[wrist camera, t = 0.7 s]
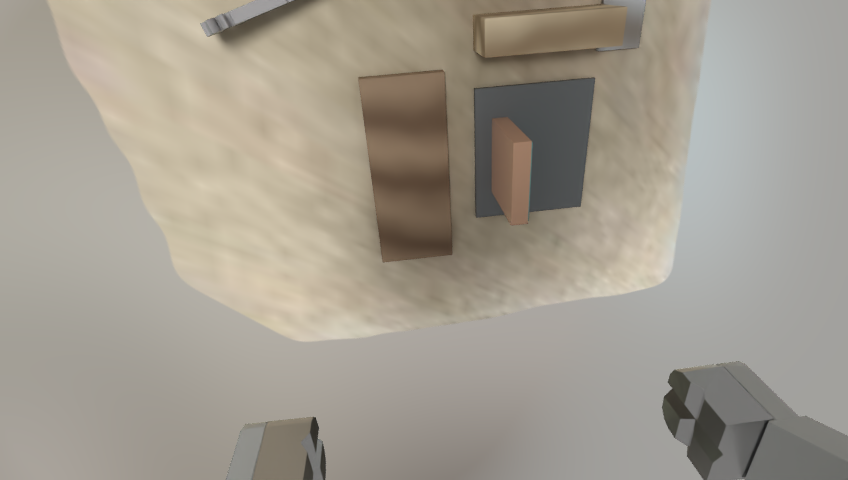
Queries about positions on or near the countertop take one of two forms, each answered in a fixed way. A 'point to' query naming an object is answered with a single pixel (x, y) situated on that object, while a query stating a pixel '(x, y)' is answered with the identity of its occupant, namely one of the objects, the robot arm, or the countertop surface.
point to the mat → (537, 139)
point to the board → (409, 162)
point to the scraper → (560, 29)
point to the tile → (511, 170)
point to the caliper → (240, 15)
